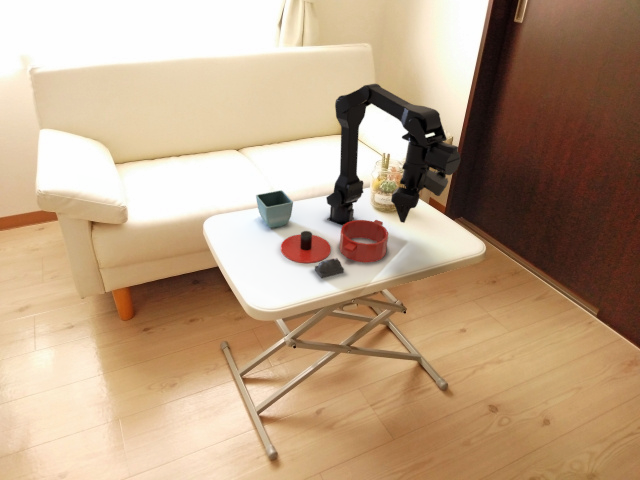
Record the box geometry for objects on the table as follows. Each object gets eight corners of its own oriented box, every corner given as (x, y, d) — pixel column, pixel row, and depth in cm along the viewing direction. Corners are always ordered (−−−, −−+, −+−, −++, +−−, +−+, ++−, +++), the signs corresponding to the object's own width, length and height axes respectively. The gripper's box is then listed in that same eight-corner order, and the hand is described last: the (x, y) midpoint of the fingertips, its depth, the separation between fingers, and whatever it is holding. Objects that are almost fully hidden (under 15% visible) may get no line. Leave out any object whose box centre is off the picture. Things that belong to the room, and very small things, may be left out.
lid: (270, 252, 127) (270, 236, 124) (299, 232, 138) (300, 216, 134) (312, 271, 121) (313, 254, 118) (339, 248, 131) (341, 231, 128)
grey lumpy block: (321, 280, 118) (322, 267, 116) (314, 271, 121) (315, 258, 119) (343, 274, 121) (344, 261, 118) (336, 266, 124) (337, 253, 121)
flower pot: (266, 233, 136) (266, 207, 131) (255, 220, 142) (255, 194, 137) (293, 228, 139) (293, 202, 134) (281, 214, 146) (282, 189, 141)
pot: (325, 257, 127) (327, 238, 124) (358, 229, 140) (360, 211, 137) (367, 274, 121) (370, 254, 118) (396, 244, 135) (400, 225, 131)
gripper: (442, 181, 104) (429, 238, 112) (455, 154, 118) (442, 206, 127) (395, 171, 107) (386, 227, 116) (413, 146, 122) (404, 197, 130)
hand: (406, 214), depth 122 cm, fingers open, 9 cm apart
